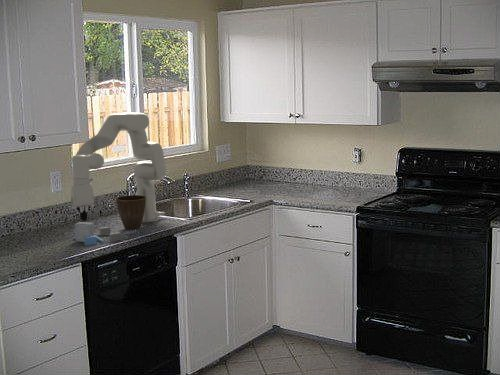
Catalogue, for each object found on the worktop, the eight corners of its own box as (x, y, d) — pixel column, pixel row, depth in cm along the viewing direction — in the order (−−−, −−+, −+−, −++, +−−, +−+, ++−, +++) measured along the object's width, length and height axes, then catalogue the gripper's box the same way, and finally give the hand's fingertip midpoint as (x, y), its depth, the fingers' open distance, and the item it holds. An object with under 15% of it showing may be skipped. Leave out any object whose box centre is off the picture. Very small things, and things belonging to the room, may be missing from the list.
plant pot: (153, 227, 358) (152, 196, 355) (133, 233, 346) (131, 201, 343) (132, 224, 366) (130, 194, 364) (111, 230, 354) (109, 198, 351)
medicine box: (95, 240, 333) (94, 222, 332) (90, 242, 329) (89, 224, 327) (80, 239, 335) (79, 221, 334) (75, 241, 331) (74, 223, 330)
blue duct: (92, 235, 343) (91, 228, 342) (104, 242, 327) (103, 235, 327) (74, 238, 338) (74, 231, 338) (86, 245, 323) (85, 238, 322)
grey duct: (115, 232, 348) (115, 225, 348) (128, 239, 333) (128, 232, 332) (99, 234, 344) (98, 227, 344) (111, 241, 329) (110, 234, 328)
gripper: (94, 179, 334) (96, 217, 337) (63, 182, 327) (65, 221, 330) (99, 181, 328) (102, 219, 331) (67, 184, 320) (70, 223, 323)
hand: (83, 220), depth 330 cm, fingers closed
